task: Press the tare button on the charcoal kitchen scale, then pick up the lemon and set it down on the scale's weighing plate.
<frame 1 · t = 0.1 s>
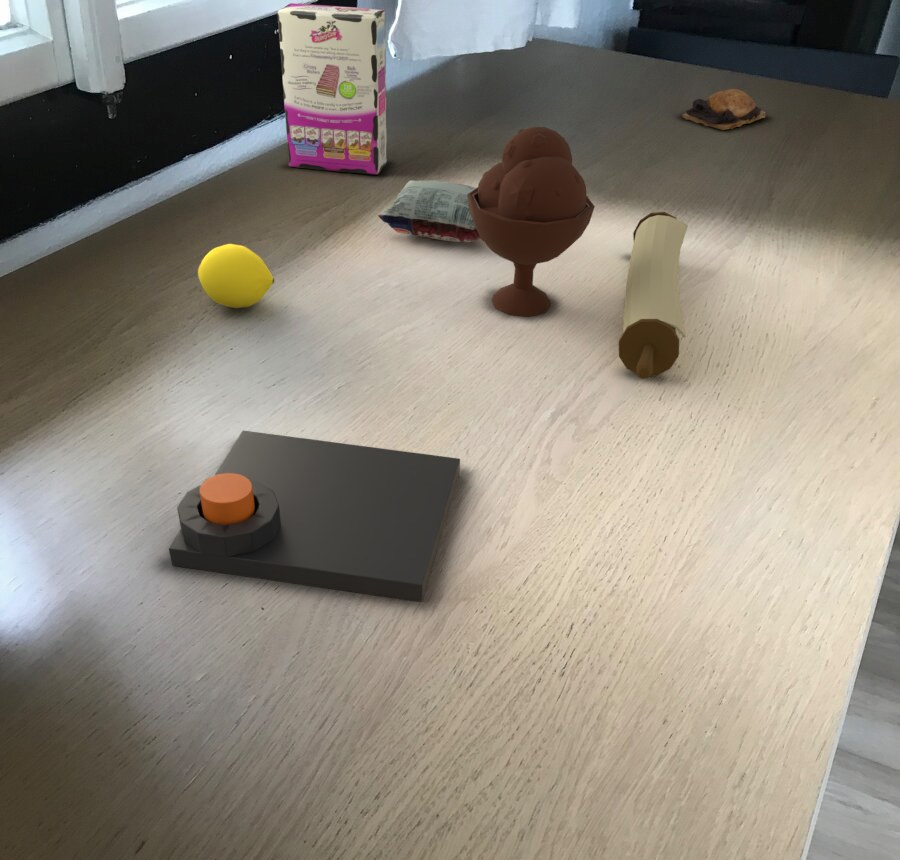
candy bar box: (338, 166, 118), on the table
tare button: (227, 499, 61), point 4 cm above the table, slide at 0.1 cm
lemon: (238, 307, 89), on the table
packaged food: (443, 233, 104), on the table
ice cream bowl: (520, 305, 92), on the table
scale: (325, 517, 66), on the table
chocolate marshmallow cracker: (723, 119, 139), on the table
scroll: (650, 315, 91), on the table
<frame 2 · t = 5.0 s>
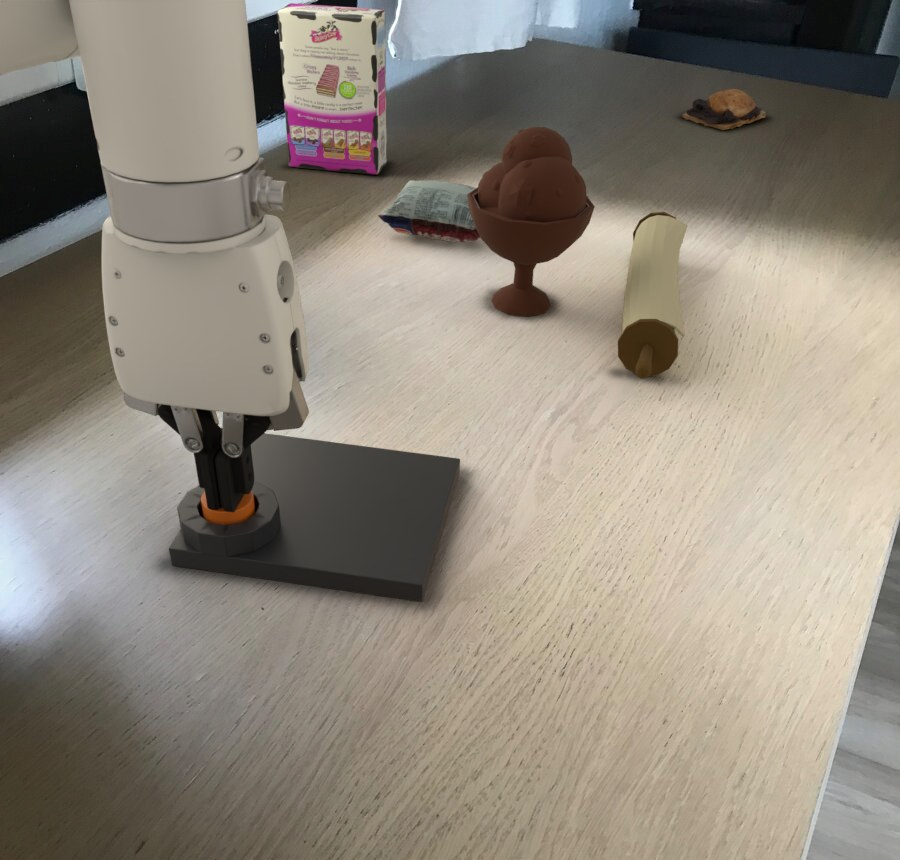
hand: (229, 497, 61), 4 cm above the table, tool pointing down, fingers closed
tare button: (228, 508, 62), point 3 cm above the table, slide at -0.6 cm, touching gripper
everything else where it was.
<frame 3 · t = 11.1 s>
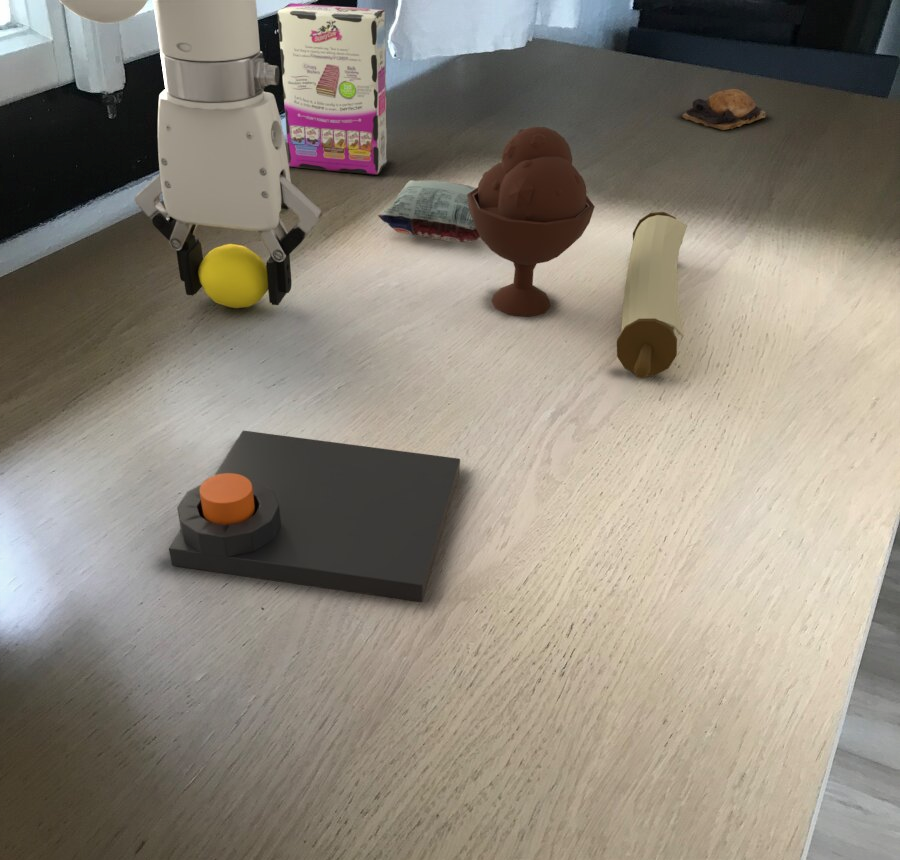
hand: (237, 292, 88), 1 cm above the table, tool pointing down, fingers closed on lemon, 7 cm apart
tare button: (227, 499, 61), point 4 cm above the table, slide at 0.1 cm
lemon: (238, 307, 89), on the table, touching gripper
everything else where it was.
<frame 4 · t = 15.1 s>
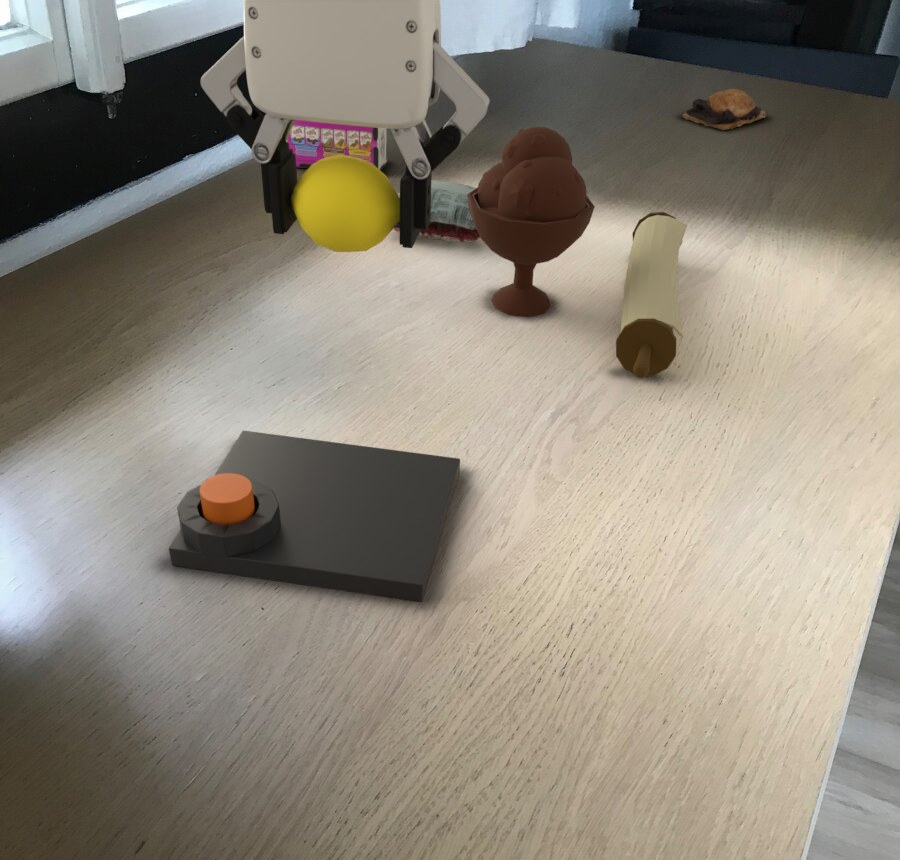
hand: (348, 230, 59), 17 cm above the table, tool pointing down, fingers closed on lemon, 7 cm apart
lemon: (348, 252, 60), point 16 cm above the table, touching gripper
everything else where it was.
when the fingers open (3 cm above the table, at t = 19.5 s): lemon stays where it is, resting on scale.
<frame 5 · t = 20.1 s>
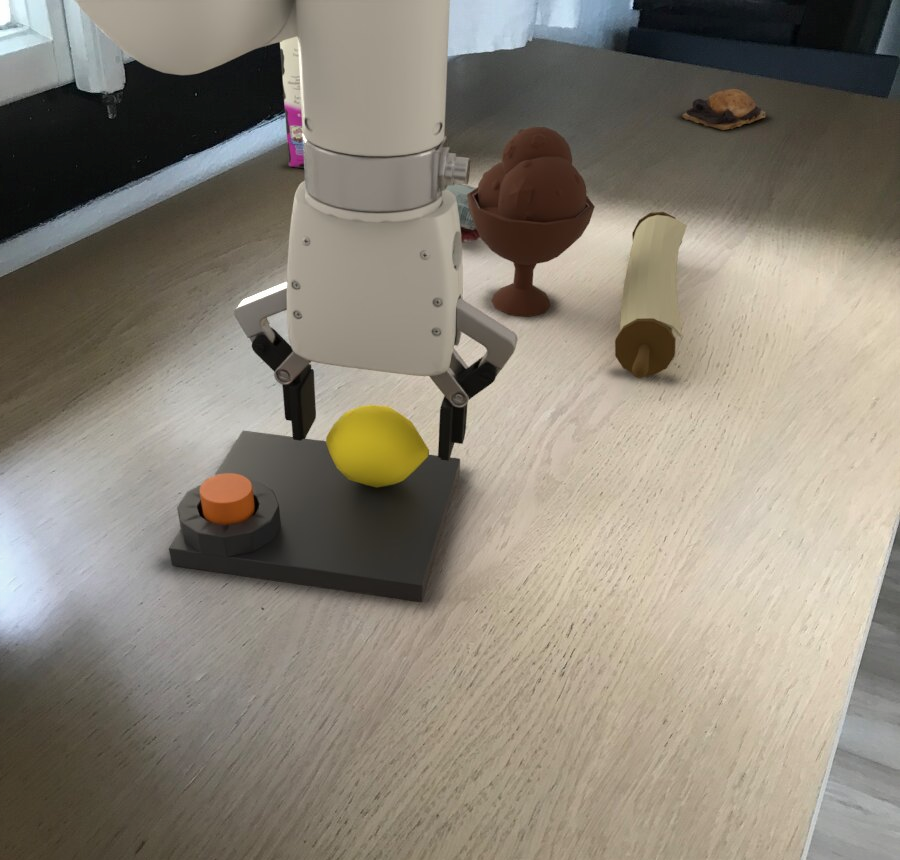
hand: (375, 439, 65), 5 cm above the table, tool pointing down, fingers open, 9 cm apart
lemon: (377, 482, 67), point 1 cm above the table, touching scale
everything else where it was.
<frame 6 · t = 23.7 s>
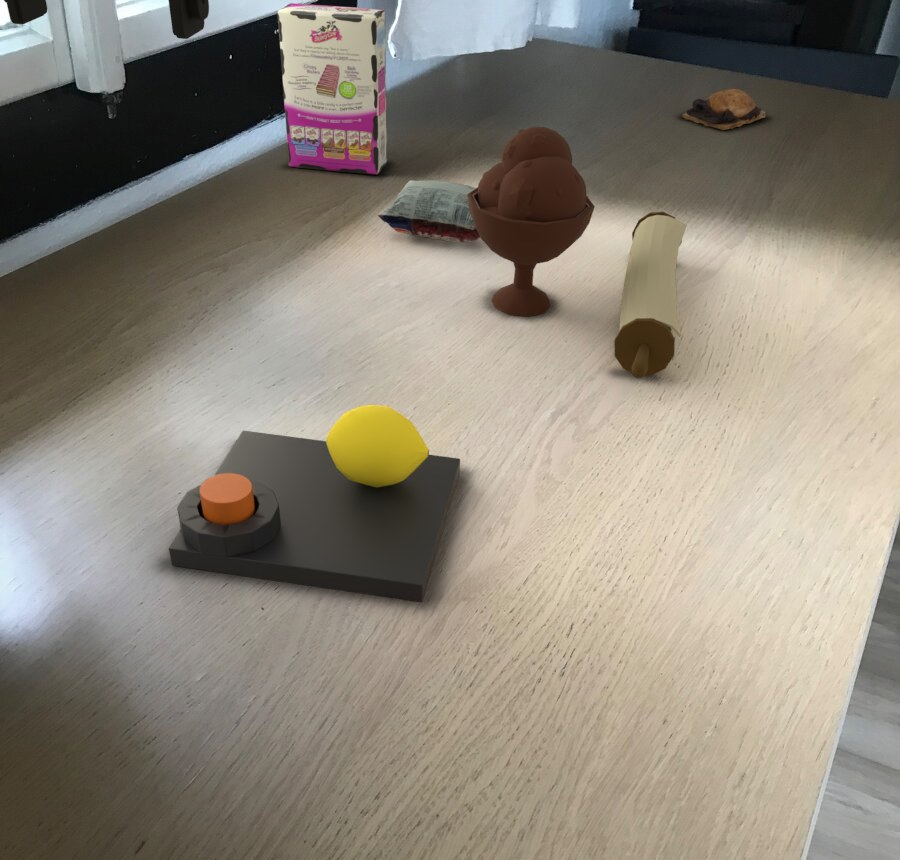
hand: (109, 26, 56), 26 cm above the table, tool pointing down, fingers open, 9 cm apart
nothing on the table moved.
at the end: tare button pushed in 0.9 cm at the most during the clip, back to where it started at the end; lemon inside the target area on the scale (4.2 cm from its centre), point 1.2 cm above the scale's base; lemon touching scale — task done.
